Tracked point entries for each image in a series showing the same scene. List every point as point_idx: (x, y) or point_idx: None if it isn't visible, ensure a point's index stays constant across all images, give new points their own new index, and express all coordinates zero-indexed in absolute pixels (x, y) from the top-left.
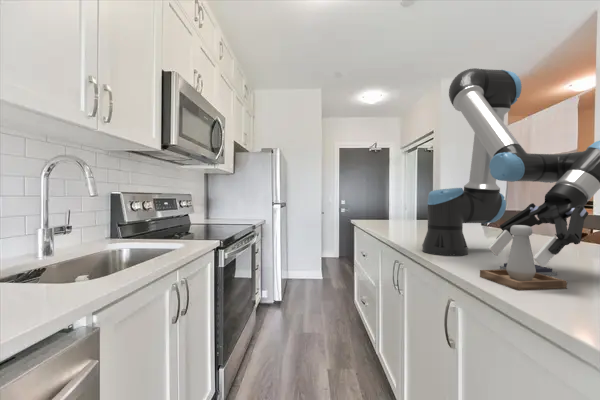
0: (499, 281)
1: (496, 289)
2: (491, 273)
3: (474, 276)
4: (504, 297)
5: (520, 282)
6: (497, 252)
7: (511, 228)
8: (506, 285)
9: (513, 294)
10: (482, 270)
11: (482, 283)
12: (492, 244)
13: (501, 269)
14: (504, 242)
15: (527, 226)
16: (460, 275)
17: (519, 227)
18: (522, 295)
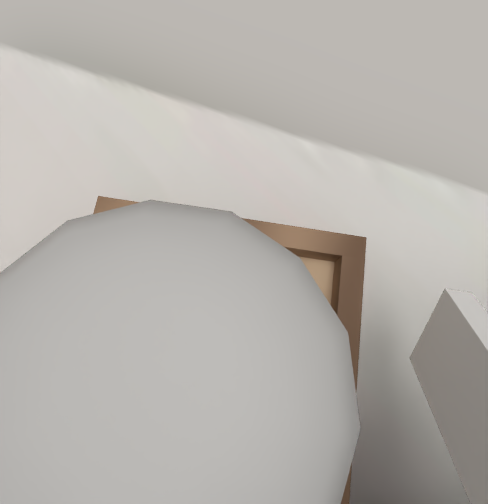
0: None
1: (153, 141)
2: (280, 227)
3: (365, 228)
4: (65, 84)
5: (95, 210)
6: (422, 362)
7: (243, 224)
8: None
9: (78, 145)
10: (352, 240)
11: (245, 162)
12: (481, 320)
13: (355, 377)
14: (482, 462)
15: None
16: (395, 179)
17: (68, 231)
18: (54, 165)
